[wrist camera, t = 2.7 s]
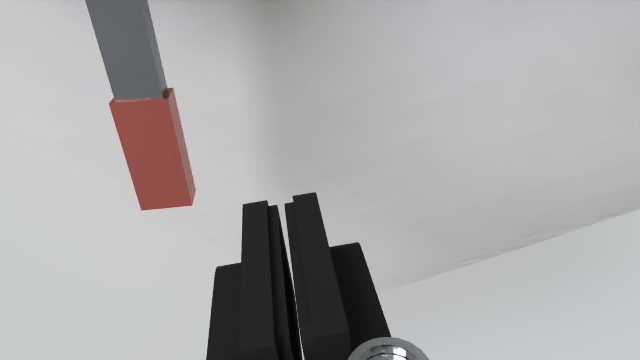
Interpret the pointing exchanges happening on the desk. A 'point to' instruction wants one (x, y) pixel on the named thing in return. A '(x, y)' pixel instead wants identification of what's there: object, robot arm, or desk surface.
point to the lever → (143, 104)
